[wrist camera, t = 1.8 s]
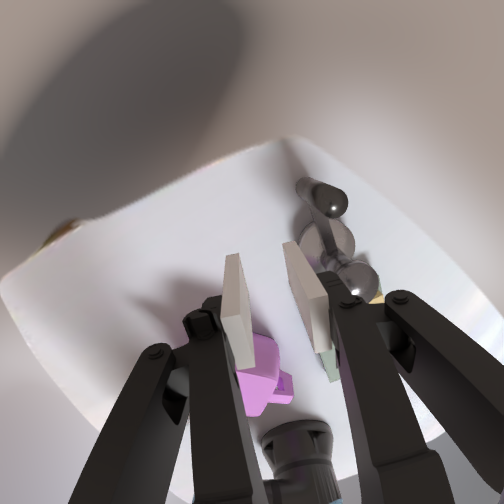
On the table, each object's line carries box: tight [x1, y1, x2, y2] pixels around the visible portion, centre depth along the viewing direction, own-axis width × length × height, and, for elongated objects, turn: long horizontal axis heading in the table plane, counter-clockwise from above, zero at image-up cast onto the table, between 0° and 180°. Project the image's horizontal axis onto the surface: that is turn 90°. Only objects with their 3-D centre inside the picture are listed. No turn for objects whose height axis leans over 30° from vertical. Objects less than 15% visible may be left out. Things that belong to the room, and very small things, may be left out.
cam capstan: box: [296, 177, 379, 303], centre depth 30 cm, size 13×7×11 cm, turn 22°
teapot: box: [235, 332, 294, 417], centre depth 37 cm, size 18×10×10 cm, turn 73°
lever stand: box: [320, 276, 384, 383], centre depth 38 cm, size 16×11×5 cm
